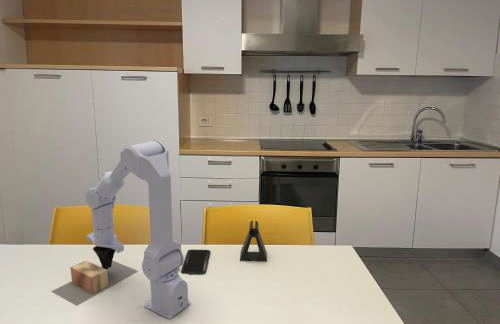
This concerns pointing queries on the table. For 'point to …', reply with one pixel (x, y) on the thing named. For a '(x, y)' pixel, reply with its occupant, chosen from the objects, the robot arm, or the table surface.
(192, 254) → the phone
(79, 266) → the oak block
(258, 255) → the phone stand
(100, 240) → the robot arm
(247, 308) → the table surface
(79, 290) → the rubber mat
